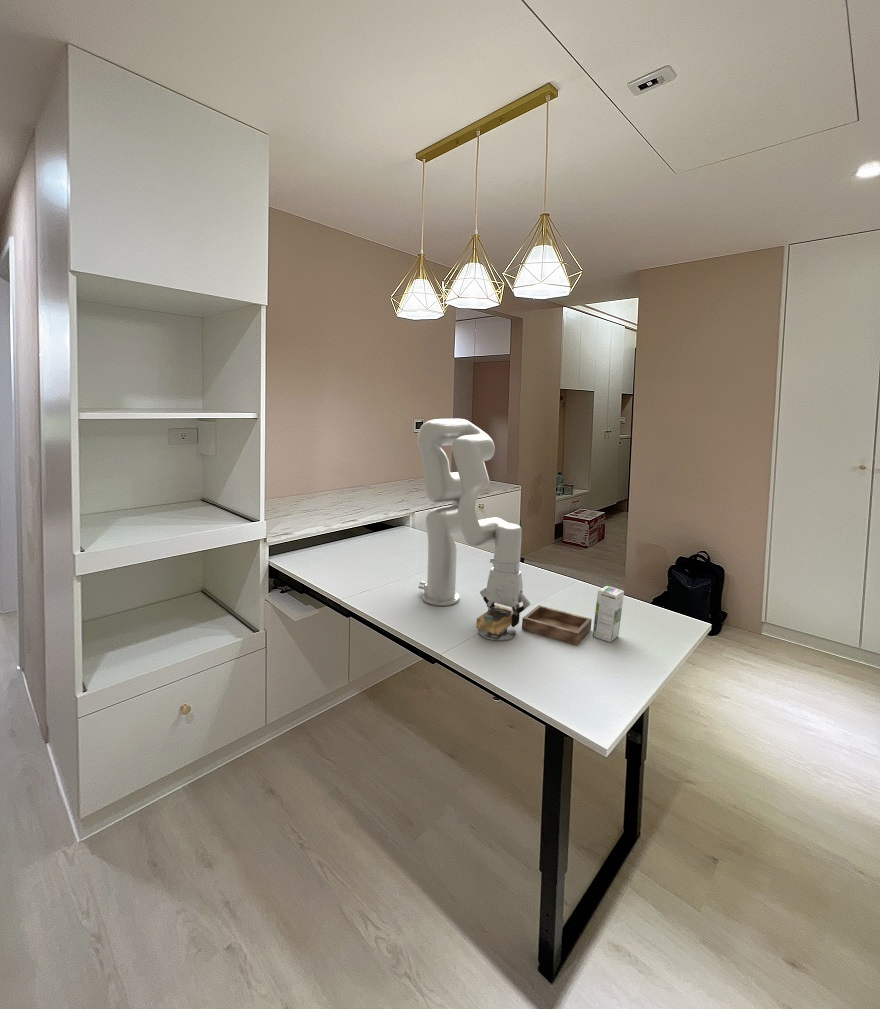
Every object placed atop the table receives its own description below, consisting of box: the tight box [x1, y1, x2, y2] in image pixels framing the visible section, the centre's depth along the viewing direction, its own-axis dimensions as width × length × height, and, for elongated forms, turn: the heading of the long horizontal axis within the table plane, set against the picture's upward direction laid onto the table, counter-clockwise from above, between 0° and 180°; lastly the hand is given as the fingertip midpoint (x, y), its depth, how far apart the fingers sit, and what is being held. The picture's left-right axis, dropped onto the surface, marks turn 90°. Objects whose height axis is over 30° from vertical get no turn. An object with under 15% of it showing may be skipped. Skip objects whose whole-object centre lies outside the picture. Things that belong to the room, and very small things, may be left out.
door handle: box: [477, 607, 517, 642], centre depth 156 cm, size 11×11×7 cm
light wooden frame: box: [475, 604, 514, 635], centre depth 156 cm, size 7×12×4 cm, turn 147°
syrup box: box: [592, 585, 625, 643], centre depth 155 cm, size 6×6×14 cm
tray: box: [521, 604, 593, 646], centre depth 159 cm, size 17×12×4 cm
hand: (503, 621), depth 160 cm, fingers closed on light wooden frame, 7 cm apart
